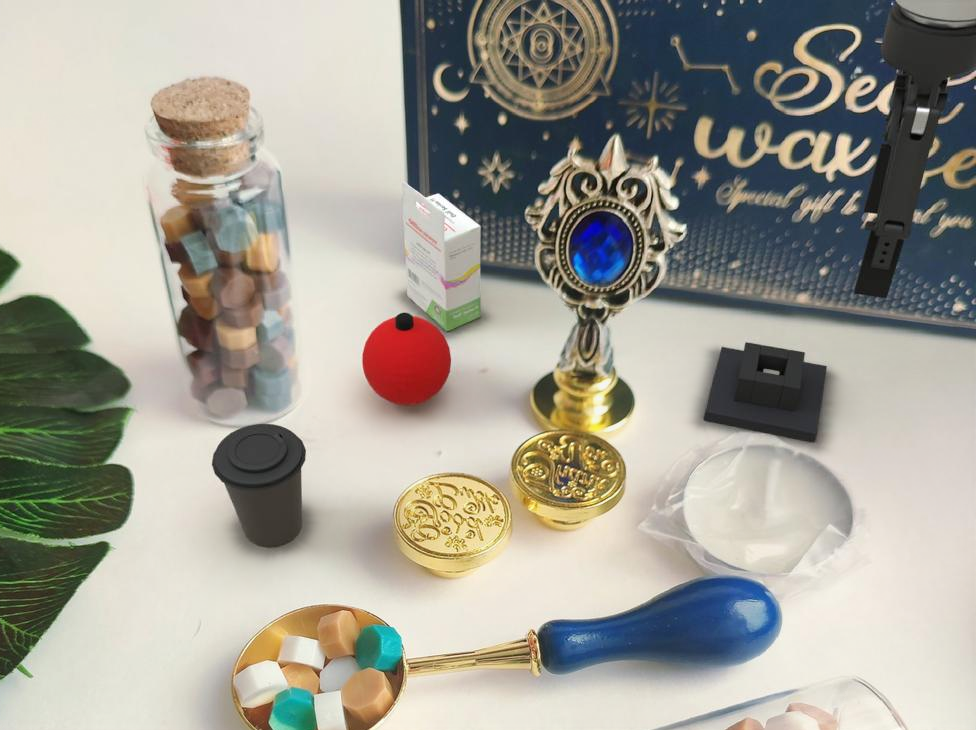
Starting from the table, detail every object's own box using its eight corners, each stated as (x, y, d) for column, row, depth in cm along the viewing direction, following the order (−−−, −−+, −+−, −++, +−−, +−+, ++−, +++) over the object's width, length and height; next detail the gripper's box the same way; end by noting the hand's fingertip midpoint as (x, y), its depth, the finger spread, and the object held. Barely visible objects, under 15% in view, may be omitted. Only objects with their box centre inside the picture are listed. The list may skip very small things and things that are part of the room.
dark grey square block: (740, 364, 113) (745, 341, 111) (798, 374, 112) (805, 351, 110) (733, 400, 109) (738, 377, 107) (793, 411, 108) (800, 388, 106)
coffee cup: (332, 509, 101) (321, 430, 94) (288, 570, 96) (273, 491, 89) (258, 484, 103) (242, 405, 96) (211, 542, 98) (190, 464, 91)
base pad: (719, 355, 116) (724, 332, 114) (824, 374, 114) (831, 352, 112) (703, 420, 109) (707, 397, 107) (814, 442, 107) (821, 420, 104)
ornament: (377, 362, 116) (370, 284, 108) (459, 372, 115) (458, 293, 107) (356, 417, 110) (347, 339, 102) (442, 428, 109) (440, 349, 101)
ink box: (483, 318, 121) (484, 200, 110) (446, 333, 119) (443, 215, 108) (441, 281, 126) (437, 165, 115) (405, 295, 124) (398, 178, 113)
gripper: (898, -54, 91) (842, 177, 106) (883, 74, 74) (819, 325, 90) (993, -47, 89) (922, 187, 104) (999, 85, 73) (914, 339, 88)
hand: (874, 251), depth 97 cm, fingers open, 13 cm apart
